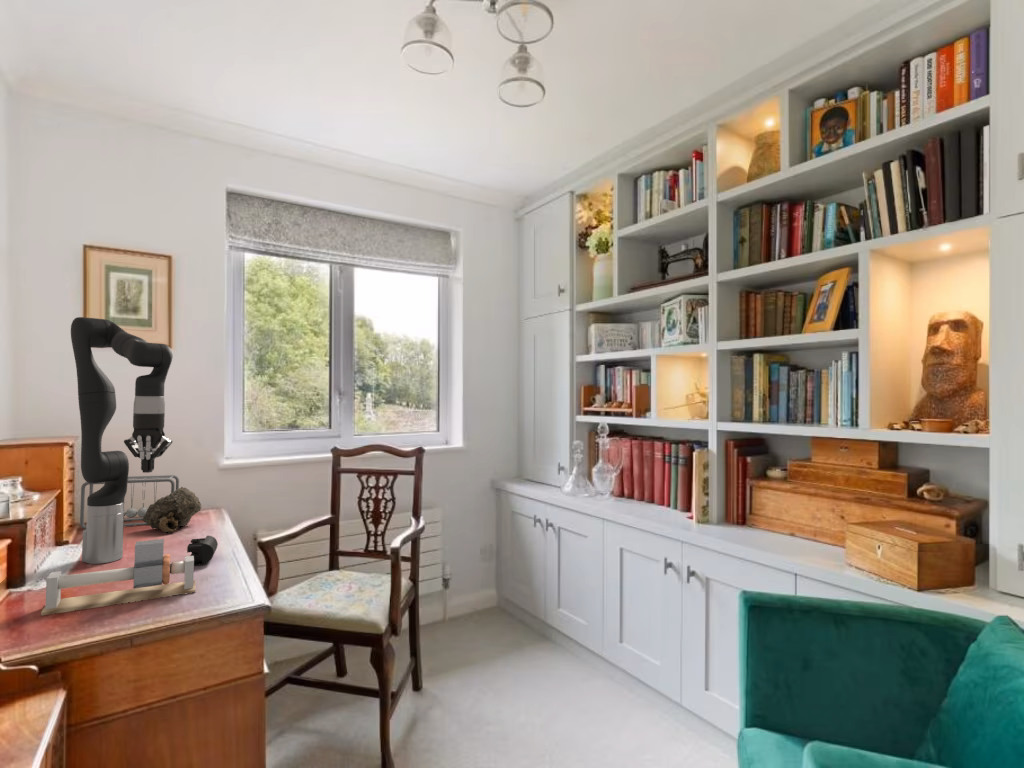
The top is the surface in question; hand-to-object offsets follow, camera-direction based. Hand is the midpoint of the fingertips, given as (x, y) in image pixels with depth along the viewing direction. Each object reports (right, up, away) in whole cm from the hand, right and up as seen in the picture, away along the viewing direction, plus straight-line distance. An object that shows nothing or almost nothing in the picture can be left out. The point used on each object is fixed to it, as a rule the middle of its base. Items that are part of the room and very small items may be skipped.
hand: (147, 472), depth 157 cm
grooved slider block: (+11, -26, -16) cm, 33 cm away
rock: (-23, -30, +48) cm, 61 cm away
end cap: (+9, -30, +12) cm, 33 cm away
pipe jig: (+7, -29, -19) cm, 35 cm away
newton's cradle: (-44, -29, +56) cm, 77 cm away
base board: (+7, -29, -19) cm, 35 cm away
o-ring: (+14, -27, -14) cm, 33 cm away
